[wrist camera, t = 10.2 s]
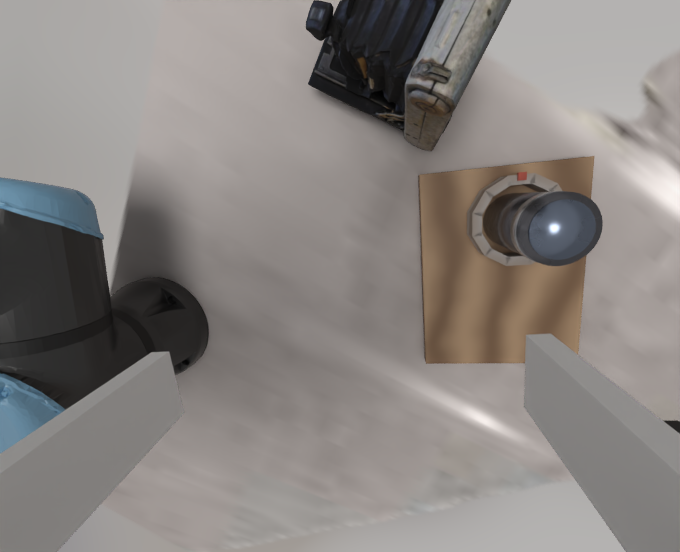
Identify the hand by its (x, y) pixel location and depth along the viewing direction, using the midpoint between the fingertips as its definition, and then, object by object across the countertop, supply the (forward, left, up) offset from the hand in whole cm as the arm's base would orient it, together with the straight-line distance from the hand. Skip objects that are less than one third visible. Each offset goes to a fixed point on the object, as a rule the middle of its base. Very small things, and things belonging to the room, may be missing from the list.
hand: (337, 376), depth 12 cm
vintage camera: (+3, +19, -31) cm, 36 cm away
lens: (+16, +3, -29) cm, 33 cm away
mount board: (+15, -3, -30) cm, 34 cm away
